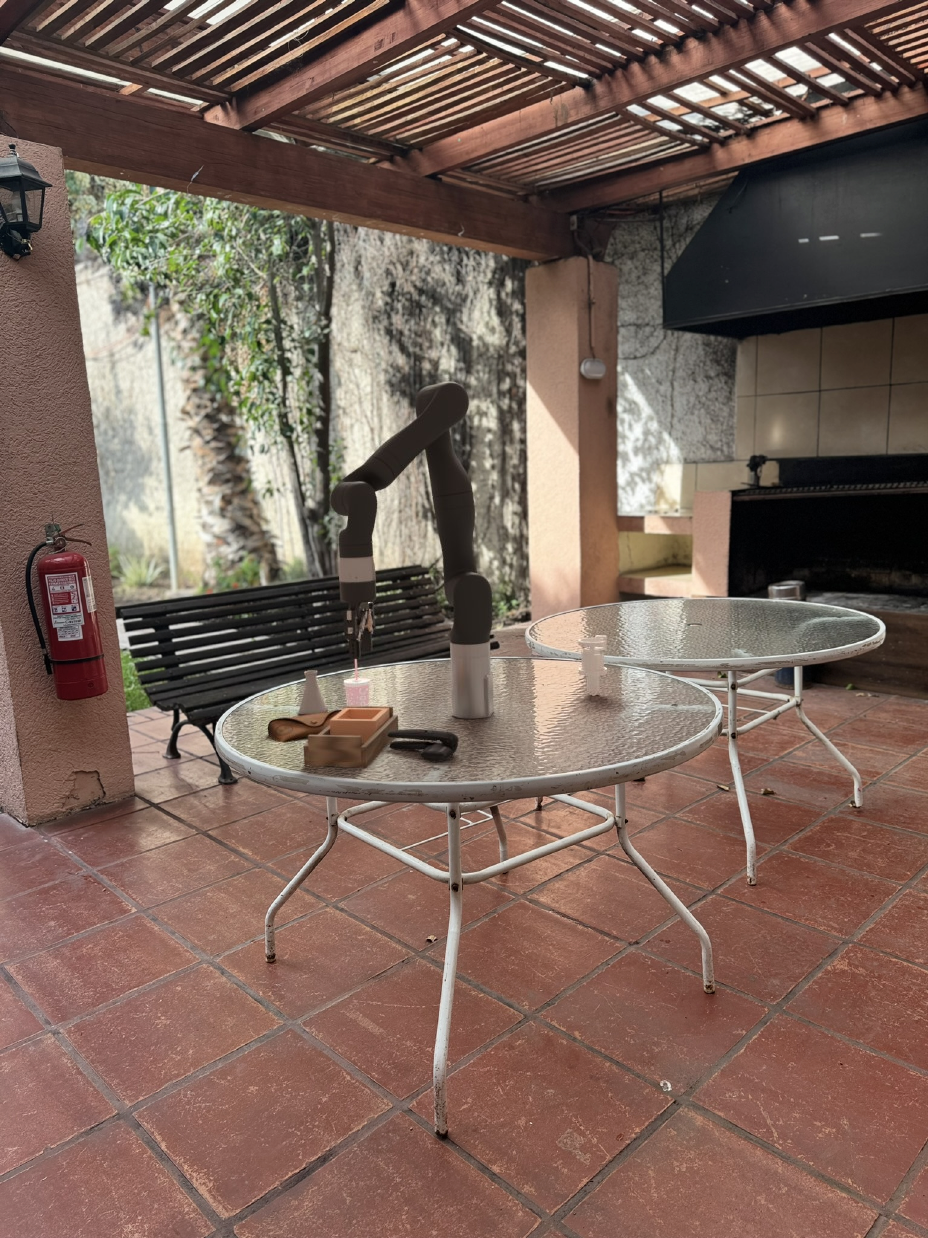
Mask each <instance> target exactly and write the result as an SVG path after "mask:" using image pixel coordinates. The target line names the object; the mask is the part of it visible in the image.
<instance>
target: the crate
mask: <svg viewBox="0 0 928 1238" xmlns="http://www.w3.org/2000/svg"><path fill="white" fill-rule="evenodd" d="M341 710H342V711H341V712H339V713H338V714H337V715H336V716H334V717H333V718H332V719H331V720H330V735H351V736H362V744H364V743H365V742H366V741H368V740H369V739H370V738H371V737H372V736H373V735H374V734H375V733H376V732H377V731H378V730H379V729H380V728H381V727H382V726H383V725H384V724H385V723H386V722H387V721H388V720H389V719H390V715H389V708H345V707H344V708H343V709H341Z"/></svg>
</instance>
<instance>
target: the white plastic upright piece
mask: <svg viewBox="0 0 928 1238" xmlns="http://www.w3.org/2000/svg"><path fill="white" fill-rule="evenodd" d="M577 646H580V647H584V648H582V650H581V655H580V656H581V657H580V658H581V666H580V667H578V674H579V675H580V676H586V692H587V691H592V692H594V691H599V692H600V676H604V675H607V674H608V668H607V667H605V652H604V651H608V637H607V635H599V634H596V635H595V636H594V637H585V638H584V637H583V638H579V639H578V640H577ZM601 651H602V653H601Z"/></svg>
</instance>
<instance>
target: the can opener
mask: <svg viewBox="0 0 928 1238" xmlns="http://www.w3.org/2000/svg"><path fill="white" fill-rule="evenodd" d="M387 736H388V737H390V738H394V739H406V740H393V741H391V742H390V743H389V744H390V745H389V747H390V749H395V750H399V749H400V750H401V751H421V752H420V755H419V756H420V757H421V758H422V759H423V760H425V761H428V760H429V762H435V763H436V762H443V761H446V760H448V759H449V758H452V757H453V756H454V754H455V752H457V750H458V747H459V737H458V735H457V734H455V733H453V732H452V731H441V730H434V729H433V728H431V727H428V728H427V729H424V728H423V729H419V728H418V729H415V728H414V729H411V728H410V729H398V730H393V731H390V732H389V733H388V735H387ZM408 739H409V740H408ZM438 741H439V742H438Z"/></svg>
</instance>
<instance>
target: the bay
mask: <svg viewBox="0 0 928 1238" xmlns="http://www.w3.org/2000/svg"><path fill="white" fill-rule="evenodd" d="M345 708H389V715H390V719H389V720H388V721H387V722H386V723H385V724H384V725H383V726H382V727H381V728H380V729H379V730H378V731H377V732H376V733H375V734H374V735H373V736H372V737H371V738H370V739H369V740H368V741H366V742H365V743H364V744H362V736H351V735H330V725H329V726H328V727H326V728H325V729H324V730H323V731H321V732H320V733H319V734H318V735H308V738H307V742H306V743H305V744H304V745H303V762H304V763H303V765H304V766H305V765H309V766H308V767H323V766H339V767H338V768H363V769H365V768H366V769H367V768H368V767H369V766H370V764H372V763H373V762H374V760H375V759H376V758H377V757H378V756H380V754H381V752H383V751H384V750H385V749H386V748H387V746H388V745H389V744H391V743H392V742H393V741H394V739H395V738H390V737H388V736H387V735H388V733H389V732H390V731H393V730H399V715H398V714H397V715H394V706H392V705H391V706H389V705H387V706H386V705H369V706H347V705H346V706H344V709H345ZM311 765H312V766H311ZM314 765H315V766H314Z"/></svg>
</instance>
